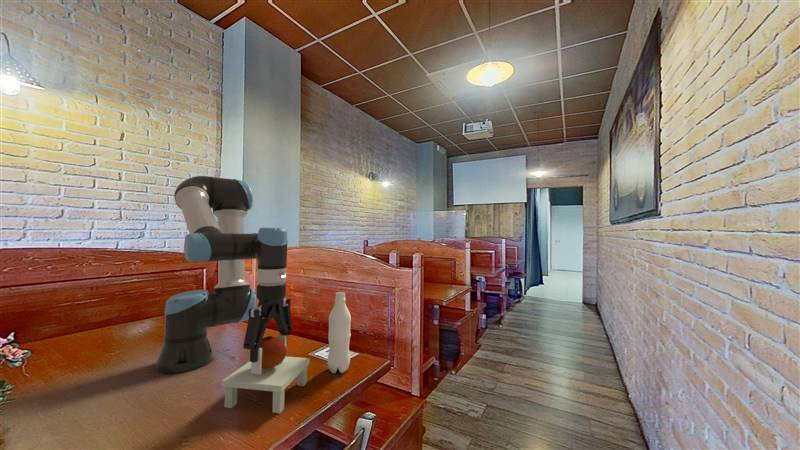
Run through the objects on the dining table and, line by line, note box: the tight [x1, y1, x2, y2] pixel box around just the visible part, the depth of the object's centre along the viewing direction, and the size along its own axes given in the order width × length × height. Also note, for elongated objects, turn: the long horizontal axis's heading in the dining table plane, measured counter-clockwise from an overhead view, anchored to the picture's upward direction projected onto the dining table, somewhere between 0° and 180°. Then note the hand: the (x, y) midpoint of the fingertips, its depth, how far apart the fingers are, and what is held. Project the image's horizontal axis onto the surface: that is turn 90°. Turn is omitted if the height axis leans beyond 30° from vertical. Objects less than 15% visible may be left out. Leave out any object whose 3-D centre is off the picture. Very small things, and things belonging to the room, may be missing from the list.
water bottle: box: [327, 291, 352, 374], centre depth 97 cm, size 7×7×25 cm
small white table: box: [221, 356, 311, 414], centre depth 82 cm, size 16×16×7 cm
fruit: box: [260, 335, 288, 369], centre depth 83 cm, size 9×9×8 cm
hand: (269, 365), depth 83 cm, fingers closed on fruit, 9 cm apart
